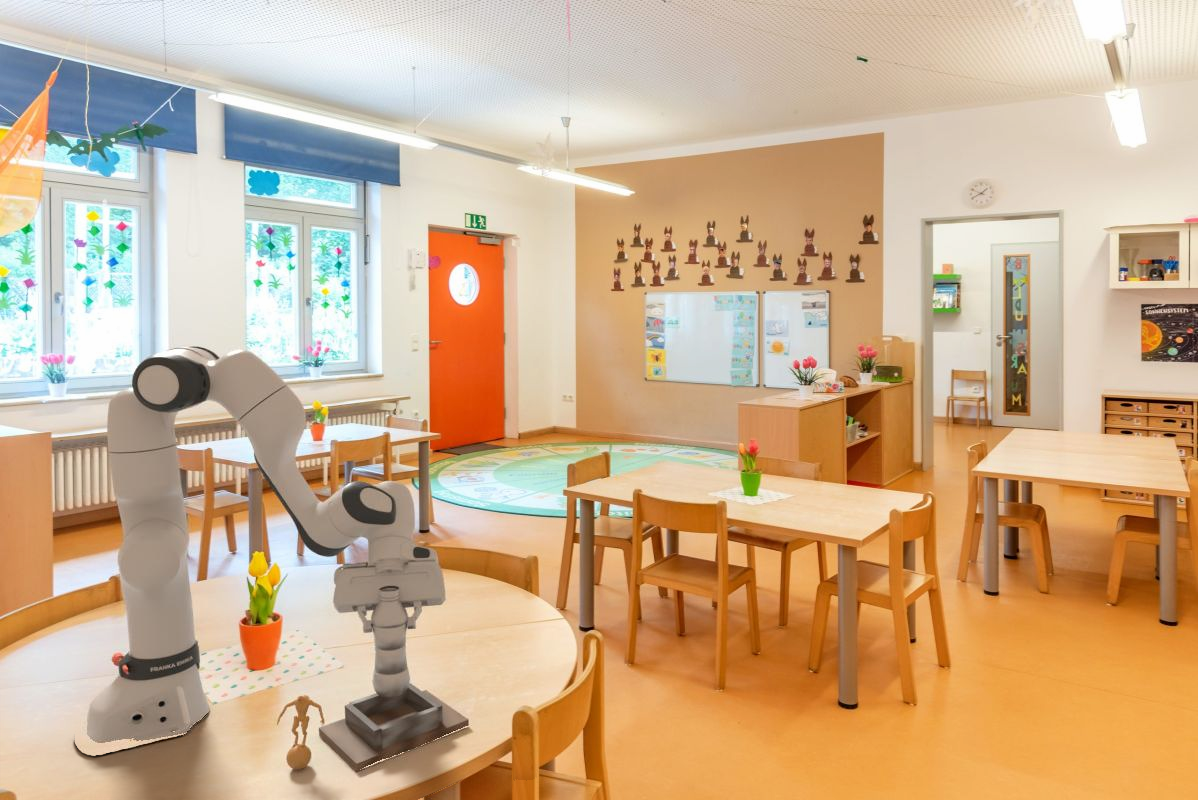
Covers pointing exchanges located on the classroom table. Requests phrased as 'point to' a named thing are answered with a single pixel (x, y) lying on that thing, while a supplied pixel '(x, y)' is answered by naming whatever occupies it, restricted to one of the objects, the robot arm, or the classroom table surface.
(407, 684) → the plastic bottle
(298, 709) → the figurine
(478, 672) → the classroom table surface
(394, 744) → the bottle holder board
